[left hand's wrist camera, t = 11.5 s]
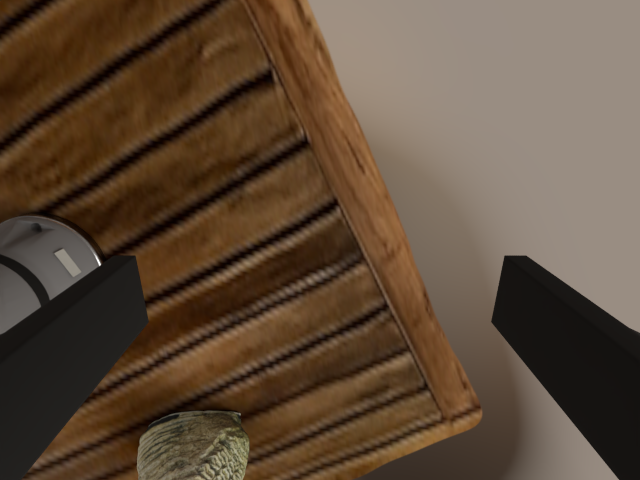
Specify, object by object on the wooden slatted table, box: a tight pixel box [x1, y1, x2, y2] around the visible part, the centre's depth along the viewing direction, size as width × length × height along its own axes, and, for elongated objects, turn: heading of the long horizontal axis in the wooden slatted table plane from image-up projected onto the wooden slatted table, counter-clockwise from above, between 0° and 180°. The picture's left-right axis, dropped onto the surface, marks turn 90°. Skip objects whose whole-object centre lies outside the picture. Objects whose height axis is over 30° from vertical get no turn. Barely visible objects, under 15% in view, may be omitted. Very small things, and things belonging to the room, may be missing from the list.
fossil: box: [137, 411, 249, 480], centre depth 50 cm, size 9×18×15 cm, turn 112°
